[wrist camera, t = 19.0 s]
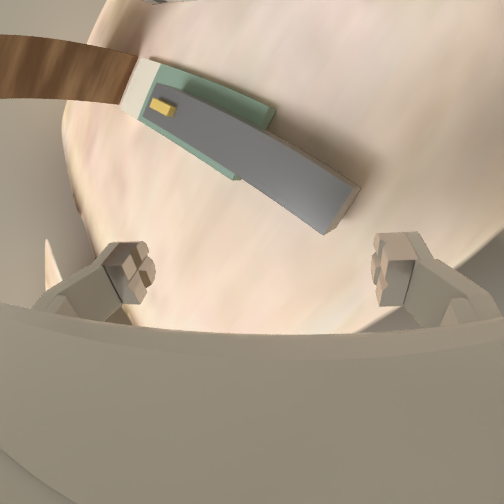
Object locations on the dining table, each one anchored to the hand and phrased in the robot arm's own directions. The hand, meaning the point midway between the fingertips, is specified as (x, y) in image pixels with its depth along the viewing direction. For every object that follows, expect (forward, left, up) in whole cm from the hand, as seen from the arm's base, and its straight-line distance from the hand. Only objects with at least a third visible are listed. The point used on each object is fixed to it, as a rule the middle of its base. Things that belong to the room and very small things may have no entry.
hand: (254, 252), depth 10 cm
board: (-16, -15, -17) cm, 27 cm away
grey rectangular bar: (-8, -7, -15) cm, 19 cm away
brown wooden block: (-30, -29, -17) cm, 45 cm away
